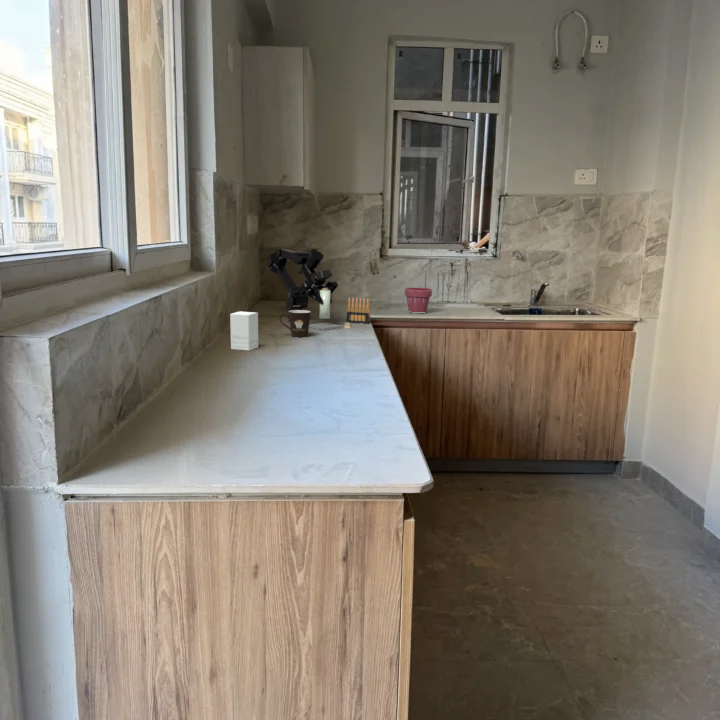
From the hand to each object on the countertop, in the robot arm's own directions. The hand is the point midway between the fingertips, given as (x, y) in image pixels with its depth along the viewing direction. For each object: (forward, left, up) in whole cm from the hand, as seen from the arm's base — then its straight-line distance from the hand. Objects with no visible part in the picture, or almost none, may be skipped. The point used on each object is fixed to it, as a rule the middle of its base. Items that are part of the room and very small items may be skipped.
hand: (327, 303), depth 264 cm
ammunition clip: (+14, +17, -11) cm, 25 cm away
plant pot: (+47, +60, -11) cm, 77 cm away
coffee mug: (-11, -23, -11) cm, 28 cm away
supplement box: (-27, -51, -11) cm, 59 cm away
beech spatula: (+9, +8, -11) cm, 16 cm away
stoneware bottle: (-1, +1, -7) cm, 7 cm away
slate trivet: (-1, +1, -11) cm, 11 cm away
